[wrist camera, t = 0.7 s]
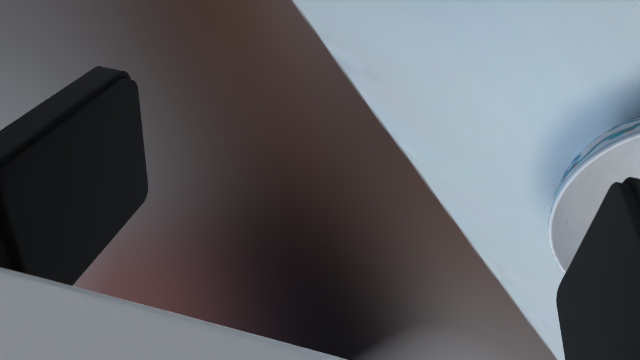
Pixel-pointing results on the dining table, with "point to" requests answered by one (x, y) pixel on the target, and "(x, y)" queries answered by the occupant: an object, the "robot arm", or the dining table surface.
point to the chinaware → (591, 186)
